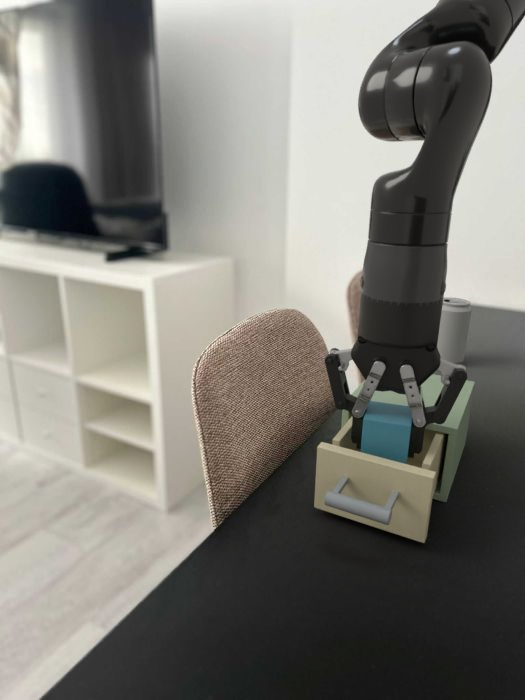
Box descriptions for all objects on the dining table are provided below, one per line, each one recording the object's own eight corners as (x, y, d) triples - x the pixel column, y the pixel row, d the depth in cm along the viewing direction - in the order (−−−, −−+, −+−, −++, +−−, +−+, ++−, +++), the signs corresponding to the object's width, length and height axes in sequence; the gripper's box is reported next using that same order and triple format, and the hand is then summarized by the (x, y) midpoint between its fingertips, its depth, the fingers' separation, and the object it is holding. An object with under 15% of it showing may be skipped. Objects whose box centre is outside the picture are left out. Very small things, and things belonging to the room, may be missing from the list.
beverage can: (432, 353, 103) (440, 294, 99) (466, 359, 100) (475, 299, 96) (424, 362, 98) (432, 301, 94) (459, 369, 94) (469, 306, 90)
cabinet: (446, 502, 56) (457, 429, 53) (337, 471, 62) (342, 403, 59) (465, 444, 69) (475, 381, 66) (373, 422, 74) (378, 364, 71)
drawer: (413, 574, 45) (423, 504, 43) (295, 532, 50) (298, 468, 48) (448, 474, 60) (457, 418, 58) (355, 449, 65) (359, 397, 63)
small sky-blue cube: (408, 445, 55) (413, 406, 54) (406, 467, 51) (411, 426, 49) (365, 438, 56) (369, 400, 55) (359, 459, 52) (363, 418, 51)
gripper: (481, 287, 49) (456, 444, 55) (333, 276, 53) (325, 423, 59) (487, 306, 42) (458, 482, 48) (318, 292, 47) (310, 456, 52)
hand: (385, 449), depth 54 cm, fingers closed on small sky-blue cube, 4 cm apart
